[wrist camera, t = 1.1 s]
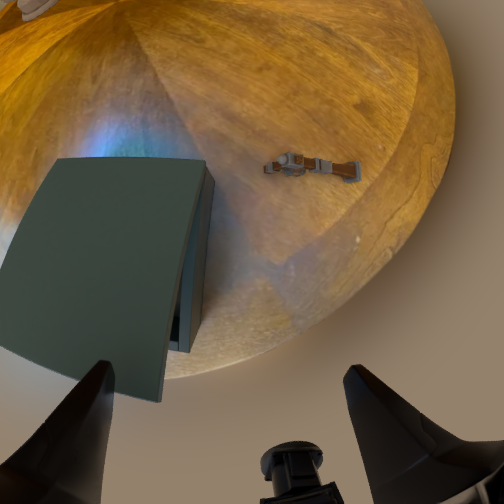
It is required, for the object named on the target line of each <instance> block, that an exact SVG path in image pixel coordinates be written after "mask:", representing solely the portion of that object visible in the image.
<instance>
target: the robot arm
mask: <svg viewBox="0 0 504 504" xmlns="http://www.w3.org/2000/svg"><path fill="white" fill-rule="evenodd" d="M343 384H344V389H345V395H346V399H347V405H348V410H349V415H350V418H351V421H352V425H353V428H354V432H355V435H356V438H357V442H358V445H359V449H360V452H361V456H362V459H363V463H364V467H365V470H366V474H367V478H368V482H369V486H370V490H371V494H372V498H373V502H374V504H504V440H501V441H478V442H471V441H470V442H469V441H464V440H461V439H459V438H457V437H456V436H454V435H453V434H451V433H449V432H448V431H446V430H444V429H443V428H442V427H440V426H438V425H437V424H436V423H434V422H433V421H431V420H430V419H429V418H427V417H426V416H425V415H423V414H422V413H420V412H419V411H418V410H417V409H416V408H415V407H413V406H412V405H411V404H410V403H408V402H407V401H406V400H405V399H403V398H402V397H401V396H400V395H398V394H397V393H396V392H395V391H393V390H392V389H391V388H390V387H388V386H387V385H386V384H385V383H383V382H382V381H381V380H380V379H379V378H377V377H376V376H375V375H374V374H372V373H371V372H370V371H369V370H367V369H366V368H365V367H364V366H363V365H361V364H357V365H352V366H351V367H350V368H349V370H348V371H347V373H346V374H345V376H344V378H343ZM114 389H115V373H114V370H113V367H112V363H111V362H110V361H107V360H99V361H98V362H97V363H96V364H95V365H94V366H93V367H92V368H91V369H90V370H89V372H88V373H87V374H86V375H85V376H84V377H83V378H82V379H81V380H80V381H79V383H78V384H77V385H76V386H75V387H74V388H73V389H72V390H71V392H70V393H69V394H68V395H67V396H66V397H65V398H64V400H63V401H62V402H61V403H60V404H59V405H58V406H57V407H56V409H55V410H54V411H53V412H52V413H51V415H50V416H49V417H48V418H47V419H46V420H45V423H43V424H42V425H41V426H40V427H39V428H38V429H37V431H36V432H35V433H34V434H33V435H32V436H31V437H30V438H29V439H28V440H27V441H26V442H25V443H24V444H23V445H22V446H21V447H20V448H19V449H18V450H17V451H16V452H15V453H13V454H12V455H11V456H10V457H9V458H8V459H7V460H6V461H5V462H3V463H2V464H1V465H0V504H100V503H101V502H100V501H101V490H102V480H103V471H104V464H105V456H106V449H107V443H108V437H109V431H110V426H111V420H112V412H113V399H114ZM322 454H323V453H322V450H308V451H276V452H272V453H271V456H270V460H269V463H268V467H267V470H266V474H265V477H264V478H265V481H272V483H273V490H274V496H275V497H272V498H266V499H265V498H262V499H260V504H344V501H343V499H342V497H341V494H340V492H339V490H338V488H337V486H336V484H335V482H330V483H329V484H326V485H323V486H322V483H321V480H320V477H319V474H318V471H317V468H316V467H317V465H318V463H319V461H320V459H321V456H322Z"/></svg>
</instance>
